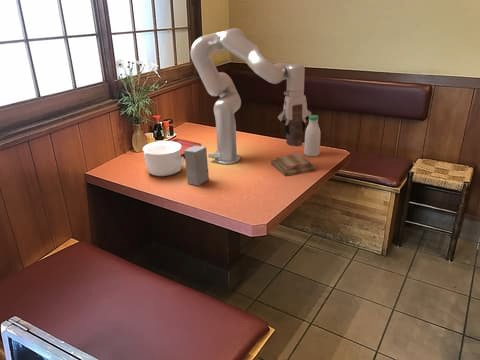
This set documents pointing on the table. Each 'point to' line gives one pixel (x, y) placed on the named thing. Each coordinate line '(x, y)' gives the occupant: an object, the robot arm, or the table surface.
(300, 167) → the plinth
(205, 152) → the skincare box
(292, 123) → the dark brown rough cylinder
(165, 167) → the pot
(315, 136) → the milk bottle
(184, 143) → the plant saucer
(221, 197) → the table surface
